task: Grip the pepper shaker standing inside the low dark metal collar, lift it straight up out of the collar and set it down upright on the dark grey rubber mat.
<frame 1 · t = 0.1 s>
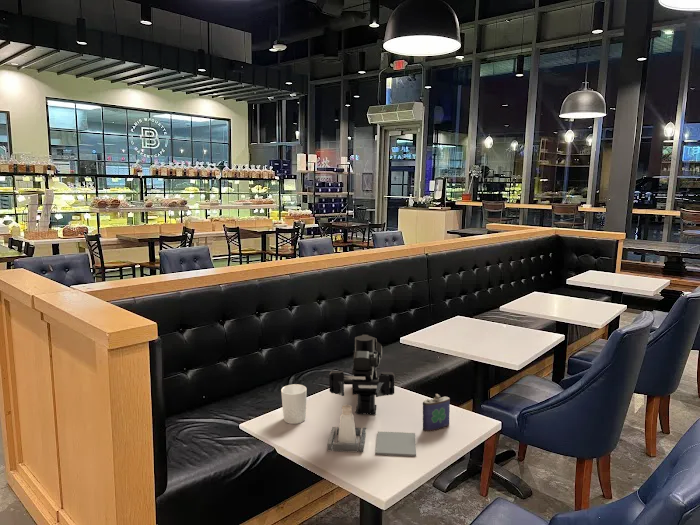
hand: (359, 394, 143), 17 cm above the table, tool horizontal, fingers open, 9 cm apart
pepper shaker: (347, 443, 151), resting in holder
mat: (396, 444, 149), on the table
white cup: (294, 419, 165), on the table
holder: (347, 442, 151), on the table
flask: (436, 428, 159), on the table
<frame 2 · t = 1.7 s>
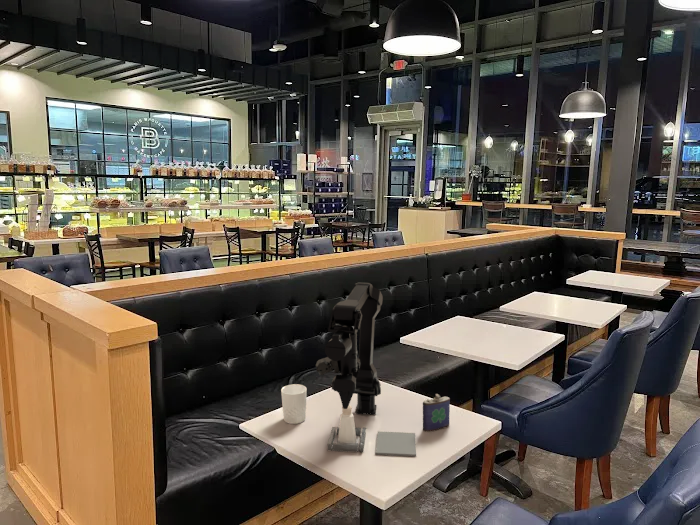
hand: (347, 401, 149), 12 cm above the table, tool pointing down, fingers open, 9 cm apart
nothing on the table moved.
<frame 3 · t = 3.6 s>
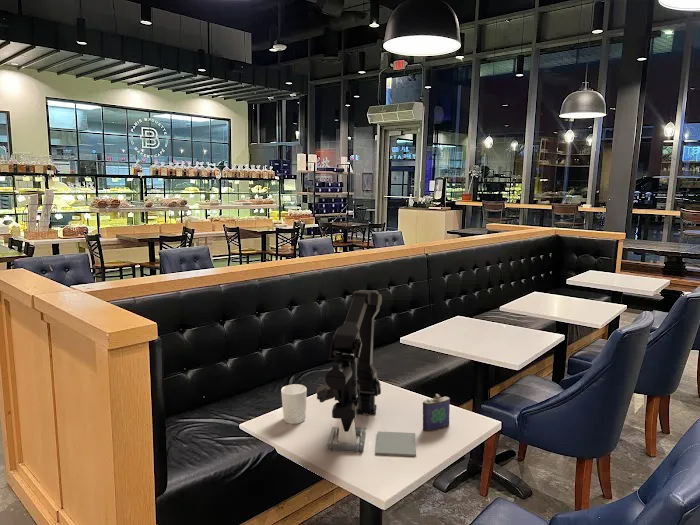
hand: (347, 427, 150), 5 cm above the table, tool pointing down, fingers closed on pepper shaker, 4 cm apart
pepper shaker: (347, 442, 151), resting in holder, touching gripper
everything else where it was.
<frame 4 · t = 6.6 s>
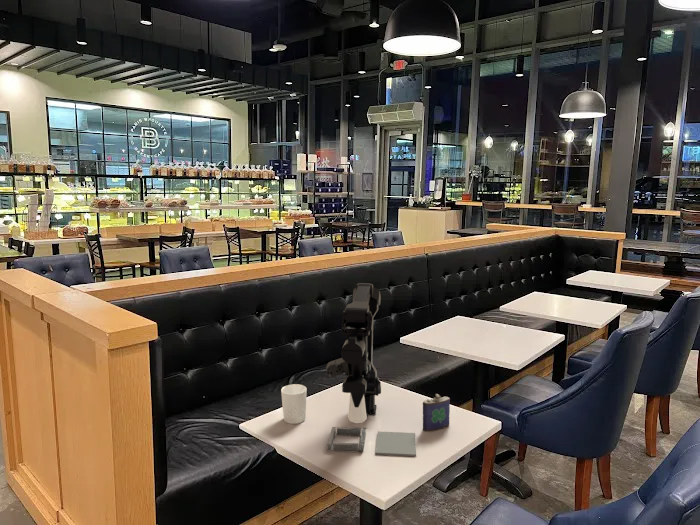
hand: (357, 403, 148), 12 cm above the table, tool pointing down, fingers closed on pepper shaker, 4 cm apart
pepper shaker: (357, 419, 149), point 7 cm above the table, touching gripper
everything else where it was.
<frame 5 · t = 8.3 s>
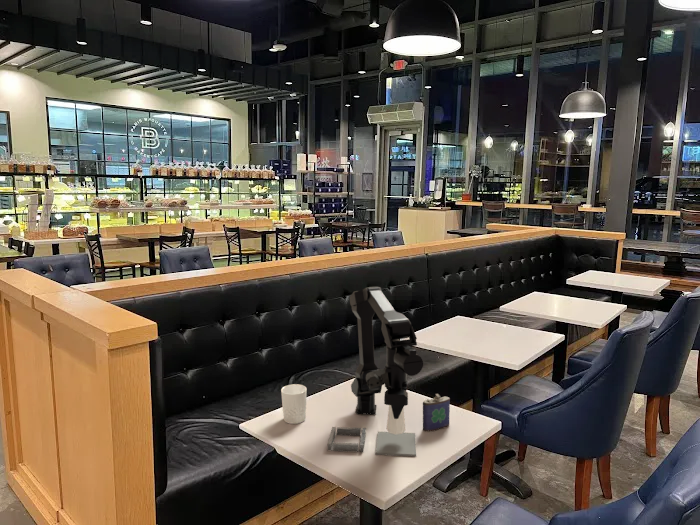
hand: (396, 415, 148), 9 cm above the table, tool pointing down, fingers closed on pepper shaker, 4 cm apart
pepper shaker: (395, 430, 149), point 4 cm above the table, touching gripper
everything else where it was.
when the fingers open (7 cm above the table, at t = 9.5 s): pepper shaker drops 1 cm, resting on mat.
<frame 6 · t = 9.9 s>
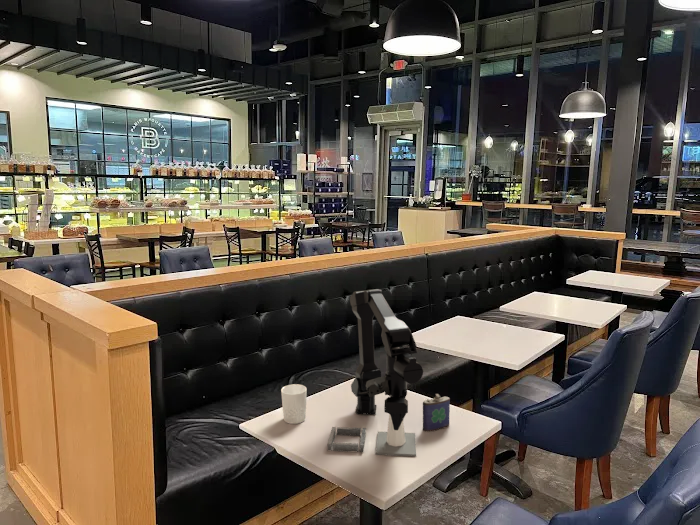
hand: (396, 422, 148), 7 cm above the table, tool pointing down, fingers open, 8 cm apart
pepper shaker: (395, 442, 149), resting on mat
everything else where it was.
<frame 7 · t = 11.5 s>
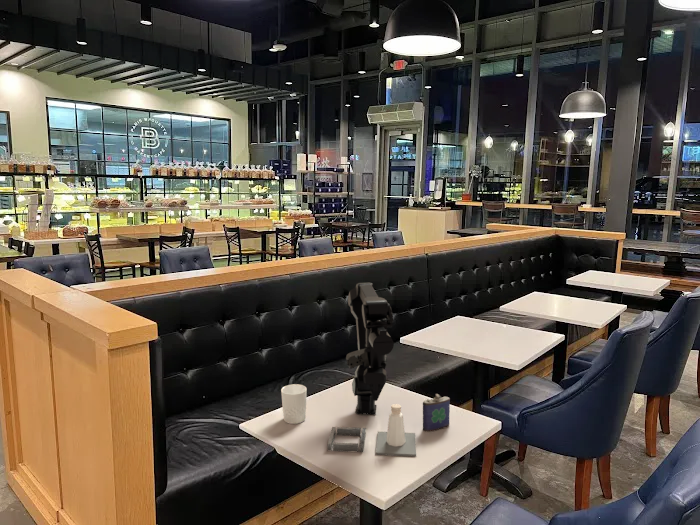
hand: (375, 393, 153), 13 cm above the table, tool pointing down, fingers open, 9 cm apart
nothing on the table moved.
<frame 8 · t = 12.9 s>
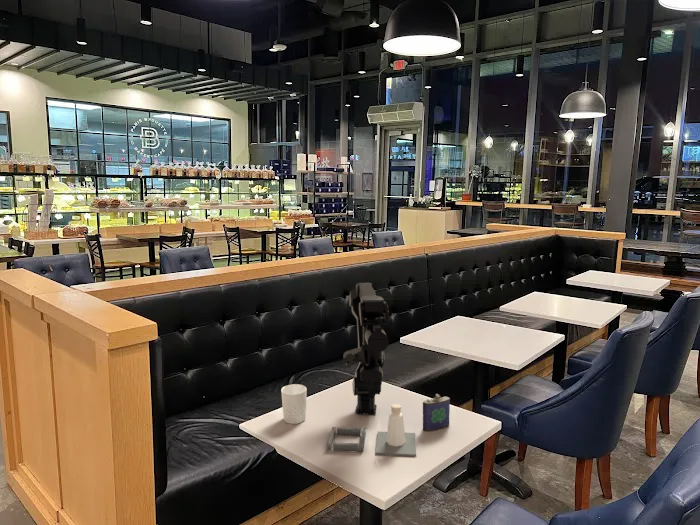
hand: (372, 391, 154), 13 cm above the table, tool pointing down, fingers open, 9 cm apart
nothing on the table moved.
at the end: pepper shaker inside the target area on the mat (0.2 cm from its centre), point 0.4 cm above the mat's base; pepper shaker tilted 0°; the gripper is holding nothing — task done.
